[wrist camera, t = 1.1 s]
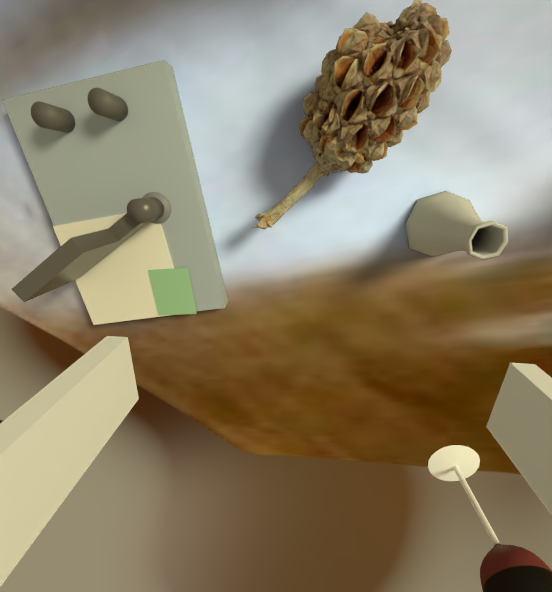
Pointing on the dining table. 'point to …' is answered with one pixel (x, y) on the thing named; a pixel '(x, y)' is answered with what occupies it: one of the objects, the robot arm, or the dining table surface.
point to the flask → (453, 228)
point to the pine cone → (369, 94)
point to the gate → (87, 250)
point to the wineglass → (492, 532)
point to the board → (124, 189)
